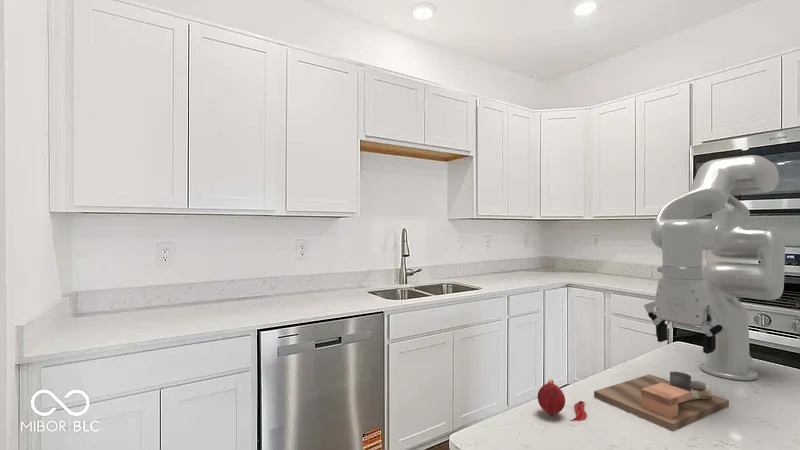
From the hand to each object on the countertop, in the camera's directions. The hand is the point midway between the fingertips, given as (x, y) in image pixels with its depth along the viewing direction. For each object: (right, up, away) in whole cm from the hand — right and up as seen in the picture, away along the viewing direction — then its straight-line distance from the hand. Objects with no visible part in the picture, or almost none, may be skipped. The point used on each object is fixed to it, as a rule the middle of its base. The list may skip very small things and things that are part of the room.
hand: (684, 346), depth 89 cm
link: (+1, -12, +1) cm, 12 cm away
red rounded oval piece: (-32, -15, -3) cm, 36 cm away
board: (-4, -14, +3) cm, 15 cm away
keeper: (-7, -13, -4) cm, 15 cm away
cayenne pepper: (-25, -15, -2) cm, 30 cm away
